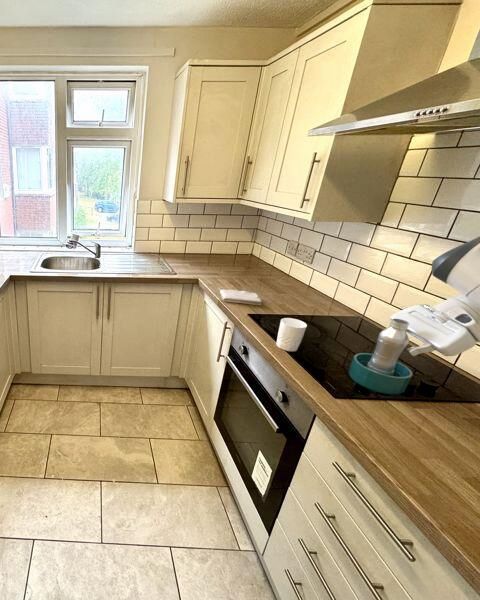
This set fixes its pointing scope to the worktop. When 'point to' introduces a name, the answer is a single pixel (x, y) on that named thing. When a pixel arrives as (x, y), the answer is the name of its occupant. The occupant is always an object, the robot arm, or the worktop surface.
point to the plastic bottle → (389, 347)
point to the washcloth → (240, 297)
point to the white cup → (290, 334)
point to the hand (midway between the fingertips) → (397, 344)
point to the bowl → (379, 376)
